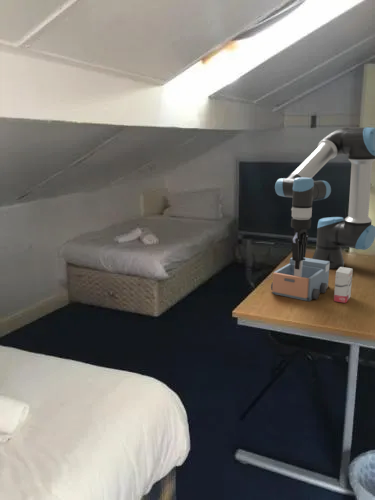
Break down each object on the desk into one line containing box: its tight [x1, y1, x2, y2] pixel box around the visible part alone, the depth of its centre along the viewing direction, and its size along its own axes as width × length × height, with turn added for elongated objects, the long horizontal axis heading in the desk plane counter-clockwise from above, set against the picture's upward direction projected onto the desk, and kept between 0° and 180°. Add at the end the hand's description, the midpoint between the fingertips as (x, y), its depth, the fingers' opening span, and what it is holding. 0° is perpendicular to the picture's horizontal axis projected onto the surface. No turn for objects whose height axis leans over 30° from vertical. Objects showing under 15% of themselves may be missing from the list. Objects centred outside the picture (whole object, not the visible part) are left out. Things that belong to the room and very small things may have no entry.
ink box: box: [333, 266, 354, 304], centre depth 182 cm, size 9×5×12 cm, turn 150°
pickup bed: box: [270, 257, 330, 302], centre depth 192 cm, size 21×19×11 cm
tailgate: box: [271, 271, 309, 298], centre depth 182 cm, size 2×14×8 cm, turn 55°
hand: (297, 276), depth 188 cm, fingers closed
